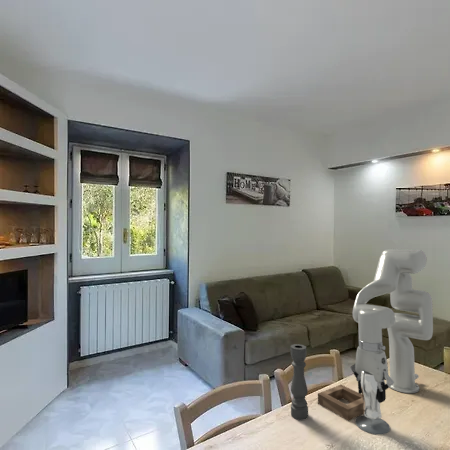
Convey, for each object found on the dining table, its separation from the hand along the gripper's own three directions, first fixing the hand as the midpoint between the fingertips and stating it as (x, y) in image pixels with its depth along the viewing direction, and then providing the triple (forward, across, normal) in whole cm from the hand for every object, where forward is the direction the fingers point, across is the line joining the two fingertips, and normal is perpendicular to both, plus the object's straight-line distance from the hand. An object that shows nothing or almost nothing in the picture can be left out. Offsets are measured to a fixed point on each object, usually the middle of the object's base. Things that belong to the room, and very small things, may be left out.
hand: (371, 396), depth 112 cm
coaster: (+10, 0, 0) cm, 10 cm away
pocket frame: (+10, +13, -2) cm, 16 cm away
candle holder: (+10, +18, +17) cm, 27 cm away
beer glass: (+6, 0, 0) cm, 6 cm away
